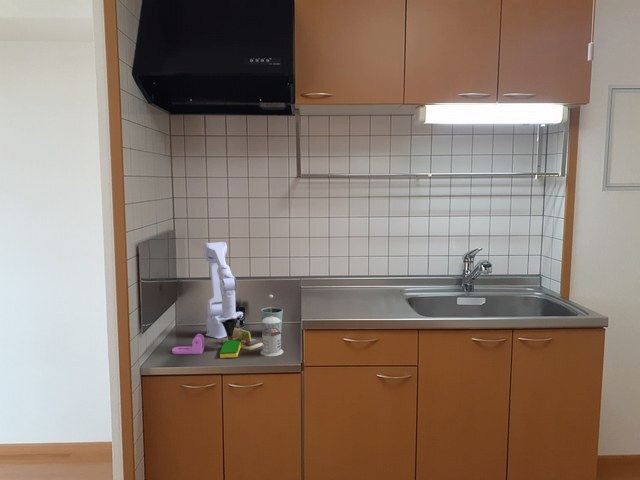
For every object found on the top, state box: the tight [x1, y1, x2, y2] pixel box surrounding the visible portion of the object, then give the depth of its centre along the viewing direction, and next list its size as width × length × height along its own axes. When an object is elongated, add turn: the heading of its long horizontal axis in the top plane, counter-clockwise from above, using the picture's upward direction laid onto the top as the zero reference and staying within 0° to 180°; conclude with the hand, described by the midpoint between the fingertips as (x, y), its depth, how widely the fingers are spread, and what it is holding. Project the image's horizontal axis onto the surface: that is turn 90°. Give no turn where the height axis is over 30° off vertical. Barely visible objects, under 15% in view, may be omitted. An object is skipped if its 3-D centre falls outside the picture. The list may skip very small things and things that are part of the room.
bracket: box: [171, 333, 205, 355], centre depth 209 cm, size 13×6×7 cm, turn 92°
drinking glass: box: [260, 306, 284, 336], centre depth 231 cm, size 10×10×12 cm
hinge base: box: [220, 336, 263, 351], centre depth 219 cm, size 18×9×3 cm, turn 53°
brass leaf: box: [231, 327, 252, 344], centre depth 217 cm, size 14×7×2 cm
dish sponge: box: [219, 339, 242, 359], centre depth 208 cm, size 7×14×2 cm, turn 1°
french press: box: [259, 294, 284, 357], centre depth 208 cm, size 10×12×25 cm
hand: (229, 336), depth 212 cm, fingers closed
